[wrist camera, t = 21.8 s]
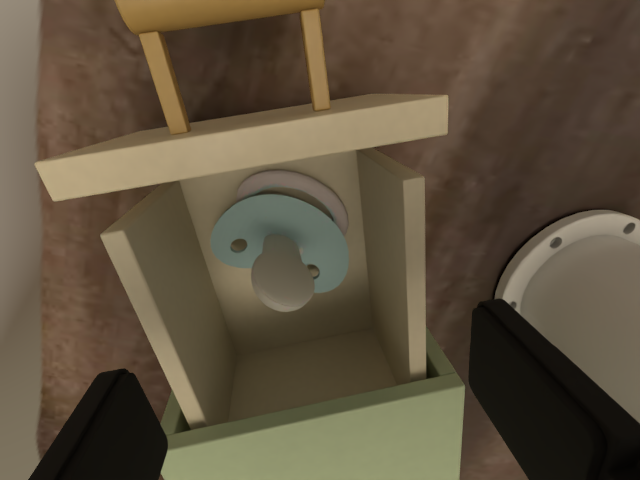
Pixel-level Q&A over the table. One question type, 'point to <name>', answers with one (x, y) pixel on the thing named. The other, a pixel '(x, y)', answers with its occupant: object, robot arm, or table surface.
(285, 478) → the cabinet
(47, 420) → the table surface
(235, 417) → the drawer
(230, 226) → the pacifier
